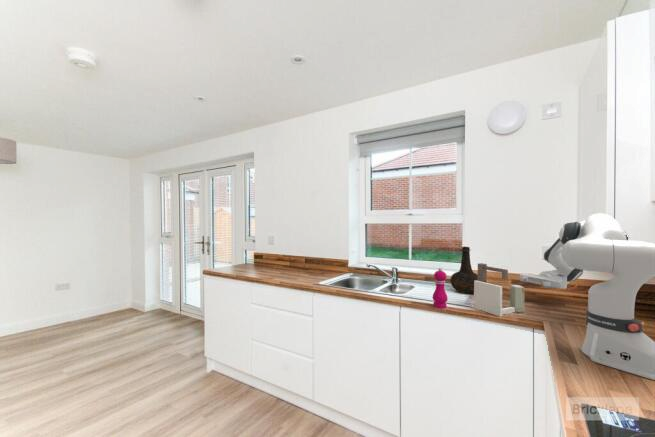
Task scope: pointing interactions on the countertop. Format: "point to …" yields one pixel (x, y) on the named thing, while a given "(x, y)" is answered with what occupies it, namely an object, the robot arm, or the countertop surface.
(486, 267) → the grey brown arch frame
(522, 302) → the skincare box
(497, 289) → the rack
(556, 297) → the countertop surface
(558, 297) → the countertop surface
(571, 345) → the countertop surface
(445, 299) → the pepper mill
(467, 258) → the glass bottle
